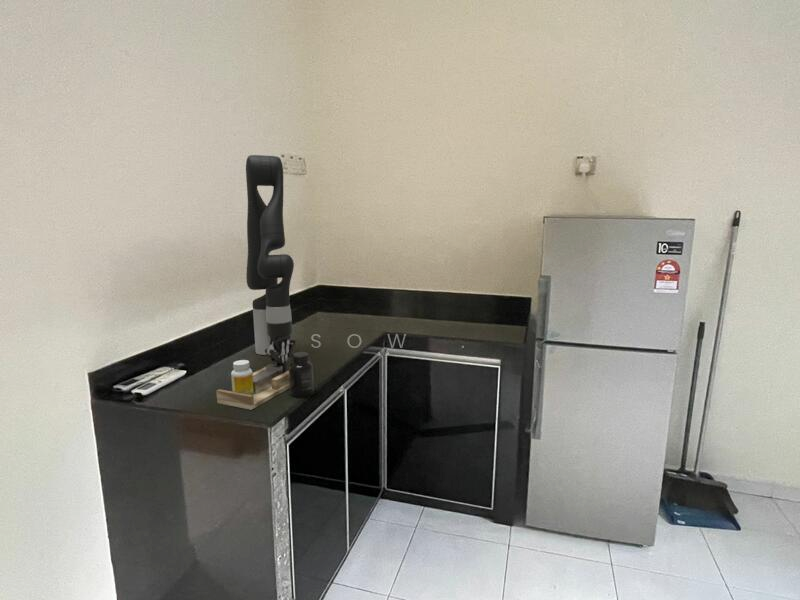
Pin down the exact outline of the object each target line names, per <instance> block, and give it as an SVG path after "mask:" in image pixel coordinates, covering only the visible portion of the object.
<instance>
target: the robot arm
mask: <svg viewBox="0 0 800 600" xmlns="http://www.w3.org/2000/svg"><path fill="white" fill-rule="evenodd" d="M245 178H246V179H245V181H246V192H247V218H246V234H247V236H246V237H247V238H246V239H247V260H246V277H245V278H246V285H247V287H248V289H250V290H251V291H258V290H259V291H261V290H265V294H263V295H262V296H260V297H257V298H255V299H253V300H252V303H251V304H252V315H253V331H254V347H255V354H257V355H262V356H266V355H267V356H268V358H269V359H270V361H271V362H272V363H276V365H281V366H283V373H285V372H287V371H288V370H287V369H288V368H287V362H288V358H292V354H293V351H294V349H295V345H296V342H297V341H296V339H292V337H291V334H293V323H292V321H293V320H292V309H291V301H290V300H291V298H290V286H291V281H292V277H293V273H294V267H295V265H294V264H295V263H294V260H293V258H292V257H291V255H289V254H284V253H283V254H270V253H271V252H272V251H276V250H280V249H282V248H284V247H285V245H286V238H285V237H286V236H285V227H284V166H283V162H282V160H281V158H280V157H279V156H275V155H262V154H261V155H260V154H258V155H257V154H253V155H252V154H250V155H248V156H247V158H246V161H245ZM259 186H261V187H272V188H273V190H272V195H271V198H270V200H269V201H268V203H267V204H266V203H265V201H264V200H263V199H262V196H261V195H260V192H259V189H258V187H259ZM278 279H281V281H280V282H279V283H278Z"/></svg>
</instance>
